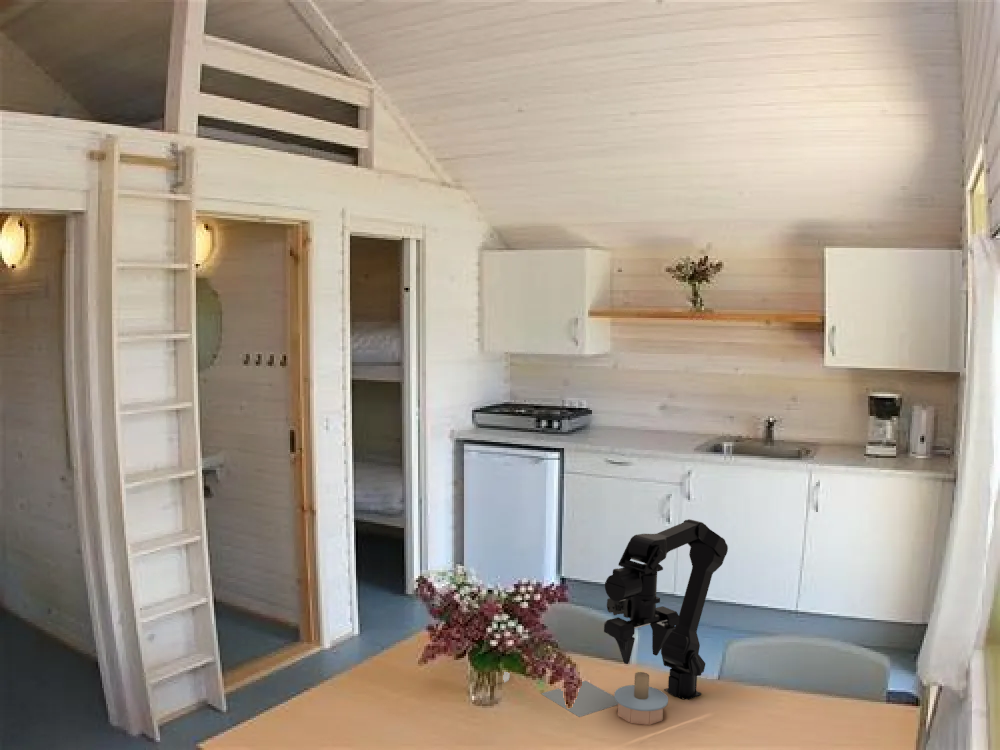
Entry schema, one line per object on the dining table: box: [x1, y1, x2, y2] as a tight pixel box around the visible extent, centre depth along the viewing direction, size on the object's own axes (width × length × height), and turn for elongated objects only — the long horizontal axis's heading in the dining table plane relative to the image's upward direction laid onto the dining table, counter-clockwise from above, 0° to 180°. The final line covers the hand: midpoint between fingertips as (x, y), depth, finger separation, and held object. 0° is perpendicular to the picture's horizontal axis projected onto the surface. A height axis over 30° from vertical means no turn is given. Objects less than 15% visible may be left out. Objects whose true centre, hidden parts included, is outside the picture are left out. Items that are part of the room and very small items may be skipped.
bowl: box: [617, 703, 664, 726], centre depth 200 cm, size 10×10×4 cm
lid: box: [613, 671, 669, 711], centre depth 200 cm, size 12×12×6 cm
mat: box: [540, 680, 618, 718], centre depth 207 cm, size 14×14×1 cm
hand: (640, 659), depth 200 cm, fingers open, 9 cm apart
